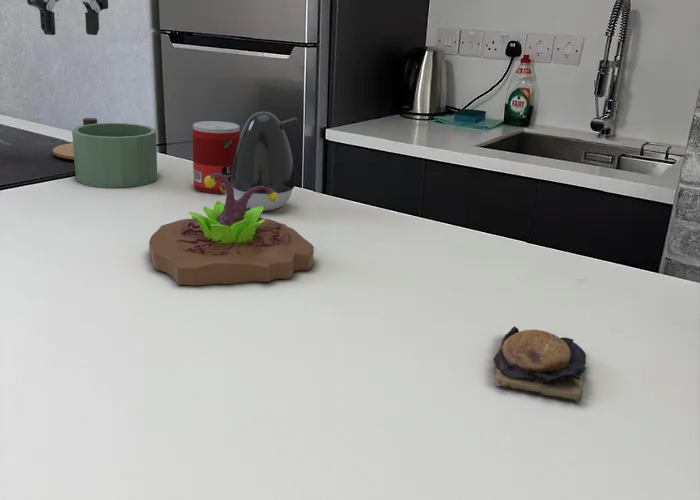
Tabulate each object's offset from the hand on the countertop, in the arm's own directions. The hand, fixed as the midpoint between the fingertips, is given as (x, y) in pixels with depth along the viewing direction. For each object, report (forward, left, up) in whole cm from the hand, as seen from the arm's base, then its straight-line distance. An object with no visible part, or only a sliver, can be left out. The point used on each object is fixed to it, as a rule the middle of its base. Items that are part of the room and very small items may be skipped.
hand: (71, 34), depth 118 cm
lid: (+5, +10, -23) cm, 26 cm away
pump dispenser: (+19, -35, -24) cm, 46 cm away
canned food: (+17, -22, -24) cm, 36 cm away
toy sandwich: (+17, -93, -24) cm, 97 cm away
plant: (+4, -53, -24) cm, 58 cm away
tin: (+4, -9, -24) cm, 25 cm away
